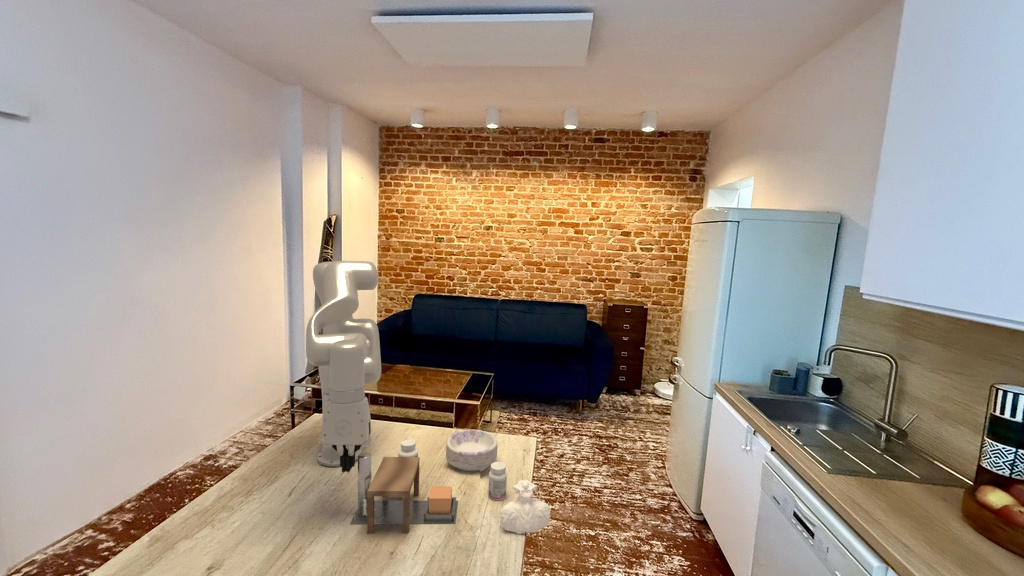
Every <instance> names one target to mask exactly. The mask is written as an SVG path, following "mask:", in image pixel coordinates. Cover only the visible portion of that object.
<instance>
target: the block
mask: <svg viewBox="0 0 1024 576" xmlns="http://www.w3.org/2000/svg"><path fill="white" fill-rule="evenodd" d="M428 497H429V514H451V506H452V497H453V486H452V485H451V486H450V485H447V486H444V485H442V486H438V485H437V486H436V485H435V486H433V485H432V486H431V487H430V493H429V495H428Z"/></svg>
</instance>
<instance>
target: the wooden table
mask: <svg viewBox="0 0 1024 576" xmlns="http://www.w3.org/2000/svg"><path fill="white" fill-rule="evenodd" d="M420 458H421V457H420V456H418V457H398V456H383V458H382V459H381V462H380V464H379V466H378V468H377V471H376V472H375V474H374V477H373V478H372V480H371V485H370V487H369V489H368V491H367V526H366V529H367V530H366V531H367V533H366V534H373V533H374V531H375V525H374V501H375V497H383V498H384V497H385V498H387V497H403V500H402V501H403V524H402V534H409V533H410V524H409V522H410V501H411V491H412V487H413V497H419V495H420V463H421V462H420Z"/></svg>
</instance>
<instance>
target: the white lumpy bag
mask: <svg viewBox="0 0 1024 576" xmlns="http://www.w3.org/2000/svg"><path fill="white" fill-rule="evenodd" d="M537 487H538V485H537V484H534V483H532V482H530V480H527V479H521V480H518V481H517V484H515V485H514V486H512V489H513V490H514V492H515V494H516V495H517V494H518V497H516V501H515V500H512V501H510V502H508V503H506V504H505V505H504V506H503V507H502V508H501V509H500V512H499V514H500V520H501V523H502V526H503V529H504V531H508V532H513V533H515V534H518V535H521V534H530V533H532V534H534V533H536V532H538V531H539V530H541V529H544V528H546V527H547V526H548V525H549V521H550V516H551V508H550V506H549V505H548V504H547V503H546V502H543V501H541V500H539V499H533V496H534V492H536V491H537V490H536V489H537ZM525 532H526V533H525Z"/></svg>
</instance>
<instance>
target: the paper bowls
mask: <svg viewBox="0 0 1024 576" xmlns="http://www.w3.org/2000/svg"><path fill="white" fill-rule="evenodd" d="M445 443H446V445H445V446H446V447H445V457H446V460H447V463H449V464H450V465H451V466H453V467H454V468H455V469H459V470H460V471H465V472H477V471H479V472H480V473H481V472H483V471H485V470H486V469H487V468H488V467H489V466H491V464H492V463H494V462H496V461H497V460H496V459H497V457H498V439H497V437H496V436H495V435H494V434H492V433H491V432H489V431H485V430H481V429H465V430H460V431H456V432H455V433H452V434H450V435H449V436H448V437H447V439H446V441H445Z"/></svg>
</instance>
